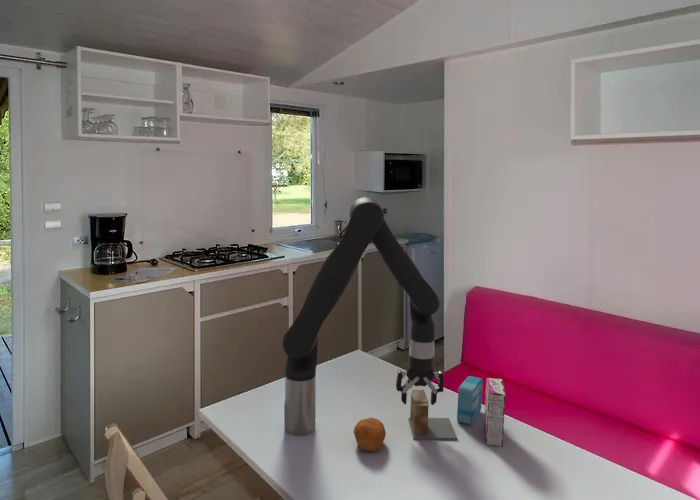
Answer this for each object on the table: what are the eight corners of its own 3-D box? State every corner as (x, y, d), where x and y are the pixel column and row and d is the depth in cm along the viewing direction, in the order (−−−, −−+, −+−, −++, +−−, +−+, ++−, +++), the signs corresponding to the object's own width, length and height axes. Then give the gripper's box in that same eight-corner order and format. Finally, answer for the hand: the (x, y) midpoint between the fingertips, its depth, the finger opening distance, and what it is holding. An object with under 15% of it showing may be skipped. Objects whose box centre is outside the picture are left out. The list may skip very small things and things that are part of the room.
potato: (347, 450, 144) (348, 426, 143) (361, 431, 155) (361, 408, 153) (378, 457, 141) (379, 432, 140) (390, 438, 151) (391, 414, 150)
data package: (470, 426, 159) (472, 390, 157) (456, 423, 161) (458, 387, 159) (481, 411, 169) (483, 377, 167) (467, 407, 171) (469, 374, 169)
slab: (413, 434, 152) (415, 403, 151) (410, 419, 161) (411, 389, 160) (427, 434, 152) (428, 403, 151) (422, 419, 161) (424, 389, 160)
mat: (413, 439, 151) (413, 437, 151) (408, 419, 162) (408, 417, 162) (457, 439, 151) (457, 437, 151) (448, 419, 163) (448, 418, 163)
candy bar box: (482, 426, 159) (486, 377, 156) (499, 428, 158) (502, 378, 155) (485, 445, 148) (488, 392, 145) (502, 447, 147) (506, 394, 144)
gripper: (399, 357, 149) (396, 408, 152) (447, 358, 150) (444, 409, 153) (396, 348, 157) (394, 397, 160) (442, 349, 157) (439, 398, 160)
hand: (418, 403), depth 156 cm, fingers open, 8 cm apart
